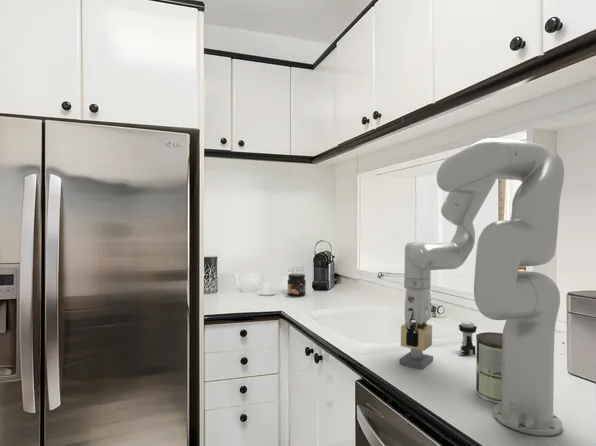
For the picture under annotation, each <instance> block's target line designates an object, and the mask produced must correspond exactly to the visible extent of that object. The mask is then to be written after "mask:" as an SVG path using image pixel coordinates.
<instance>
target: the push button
mask: <svg viewBox="0 0 596 446" xmlns="http://www.w3.org/2000/svg"><path fill="white" fill-rule="evenodd" d="M458 329H459V331H460V332H461V333H462V342H461V343H462V345H461V346H460V349H459V350H458V352H459V353H458V355H460V356H465V357H467V356H473V355H476V345H474V344H473V334H474V333H476V332H477V329H478V327H477V326H476V325H475V323H474V322H471V321H461V323H460V324H459V325H458Z"/></svg>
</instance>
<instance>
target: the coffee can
mask: <svg viewBox="0 0 596 446" xmlns="http://www.w3.org/2000/svg"><path fill="white" fill-rule="evenodd" d="M502 334H503V332H489V331H488V332H480V333H477V334H476V336H475V339H476V367H475V368H476V374H475V376H476V378H475V379H476V381H475V382H476V383H475V384H476V385H475V387H476V390H475V393H476V394H477V396H479V398H481V399H483V400H485V401H487V402H490V403H494V404H496V405H497V404H499V403H502Z"/></svg>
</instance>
